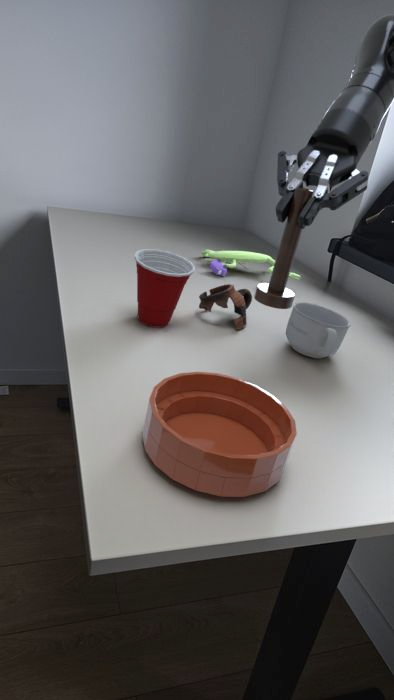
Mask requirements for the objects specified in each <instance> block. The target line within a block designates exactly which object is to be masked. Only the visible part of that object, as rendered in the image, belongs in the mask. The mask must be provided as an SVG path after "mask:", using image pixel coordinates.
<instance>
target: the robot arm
mask: <svg viewBox="0 0 394 700" xmlns="http://www.w3.org/2000/svg"><path fill="white" fill-rule="evenodd" d="M353 65H354V66H353V69H352V72H351V76H350V79H349V80H348V82H347V83H346V85H345V86H344V88H343V89H342V91H341V93H340V94H339V96H338V97H337V98H336V99H335V100H334V101H333V102H332V103H331V105H330V106H329V108H328V110H327V111H326V112H325V114H324V115H323V117H322V119H321V120H320V121H319V123H318V125H317V126H316V128H315V130H314V131H313V132H312V134H311V136H310V137H309V139H308V142H307V144H306V146H304V147H302V148H301V149H299V151H298V152H297V154H289V155H288V154H287V152H286V151H284V150H281V151H279V152H278V153H277V170H276V171H277V173H276V175H277V176H276V182H277V189H278V195H279V196H281V198H280V199H279V201H278V203H277V204H276V205H275V214H276V215H275V216H276V217H277V222H280V223H283V224H284V223H285V222H286V220H287V217H288V213H289V210H290V206H291V202H292V199H293V195H294V191H295V188H296V187H301V188H306V189H309V190H310V187H312V186H313V187H316V189H315V190H314V192H313V196H312V197H310V199H309V200H308V202H307V203H306V205H305V207H304V208H303V210H302V212H301V213H300V215H299V217H298V227H299V228H302V230H304V229H306V227H309V226H311V225H312V224H313V222H314V221H315V219H316V217H317V216H318V214H319V213H320V211H322V210H323V209H329V210H330V211H336V210H338V209H340V208H342V207H343V206H344V205H346V204H347V203H348V202H350V201H352V200H353V199H354V198H356V197H358V196H359V195H361V194H362V193H364V192H365V191H367V189H368V185H369V172H368V170H367V171H366V170H361V171H360V170H358V169H357V166H358V165H359V162H360V161H361V159H362V158H363V156H364V154H365V153H366V151H367V150H368V147H369V146H370V144H371V142H373V140H374V139H375V137H376V135H377V133H378V131H379V128H380V126H381V123H382V121H383V119H384V117H385V115H386V114H387V112H388V111H389V110H390V107H391V106H392V104H393V102H394V13H388V14H385V15H382V16H381V17H379V18H377V19H376V20H375V21H373V23H372V24H371V25H370V26H369V27H368V29H367V30H366V31H365V33H364V35H363V36H362V39H361V41H360V43H359V46H358V49H357V52H356V56H355V61H354V64H353ZM296 165H297V167H298V169H297V170H296V172H294V177H293V178H292V179H291V181H290V182H289V180H288V179H289V174H290V173H291V172H292V171H293V169H294V167H295V166H296ZM338 185H339V186H338ZM335 186H337V187H335ZM334 187H335V188H334Z"/></svg>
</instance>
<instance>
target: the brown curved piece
mask: <svg viewBox="0 0 394 700" xmlns="http://www.w3.org/2000/svg"><path fill="white" fill-rule="evenodd" d="M208 291H209V295H208V292H207V291H204V292H202V293H200V294H199V296H198V298H199V300H200V302H199V305H198V309H200V310H204V311H205V312H209V313H211V312H212V308H213V307H214V304H215V305H216V306H218V307H221V308H222V309H229V308H228V301H229V299H230V300H231V301H232V304H233V307H234V309H233V312H234V313H235V314H237V315H239V317H237V318H235V319H234V320H233V323H234V325H235V326H234V329H235V331H240V330H241V329H243V328H245V327H246V326H247V309H248V308H249V307H250V305H251V304H252V301H253V294H252V292H251V290H249V289H248V288H240V289H238V290H237V289H235V285H234V284H231V283H230V284H229V283H228V284H224V285H223V284H222V285H219V286H215V287H212V288H211V289H209V290H208Z"/></svg>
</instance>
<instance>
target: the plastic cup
mask: <svg viewBox="0 0 394 700" xmlns="http://www.w3.org/2000/svg"><path fill="white" fill-rule="evenodd" d="M133 257H134V260H135V265H136V274H137V275H136V276H137V277H136V281H137V282H136V291H137V292H136V294H137V295H136V299H137V300H136V302H137V316H138V321H139V322H140V323H141V324H143V325H146V326H148V327H153V328H165V327H167V326H168V325H169V323H170V322H171V319H172V318H173V314H174V312H175V310H176V309H177V305H178V304H179V300H180V298H181V296H182V293H183V291H184V289H185V286H186V284H187V282H188V280H189V279H190V277H191V275H192V274H194V272H195V271H196V266H195V265H194V263H193V262H192V261H190V260H189V259H188V258H185V257H184V256H182V255H179V254H176V253H174V252H171V251H167V250H163V249H154V248H145V249H143V248H142V249H139V250H137V251H136V252H135V254H134V256H133Z"/></svg>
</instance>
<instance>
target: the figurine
mask: <svg viewBox="0 0 394 700" xmlns="http://www.w3.org/2000/svg"><path fill="white" fill-rule="evenodd" d="M201 255H202V257H205V258H211V259H213V260H212V261H210V264H209V270H210V271H211V272H213V273H214V274H215V275H216V276H222V277H226V276H227V273H228V269H235V268H236V266H237V263H238V264H239V265H241V266H242V267H243V268H245V270H246V269H248V268H247V267H246V266H245V265H244V264H258V263H259V264H260V263H266V262H267V263H268V264H269V265H270V267H268V269H267V272H268V274H270V275H272V271H273V268H274V264H275V260H276V259H273V257H271V256H270V255H268V254H265V253H260V252H253V251H244V250H219V251H214V250H212V249H203V250H202V251H201ZM288 278H293V279H296V280H298V281H300V280H301V275H300V274H297V273H294V272H290V274H289V277H288Z"/></svg>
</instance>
